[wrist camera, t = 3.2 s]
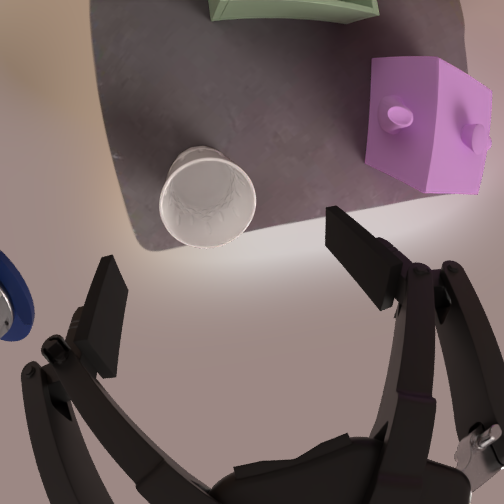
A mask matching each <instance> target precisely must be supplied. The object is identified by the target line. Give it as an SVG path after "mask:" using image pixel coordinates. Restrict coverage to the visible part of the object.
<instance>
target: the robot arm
mask: <svg viewBox="0 0 504 504" xmlns="http://www.w3.org/2000/svg"><path fill="white" fill-rule="evenodd" d="M325 233H326V235H325V246H326V247H327V248H328V249H329V250H330V252H331V253H332V254H333V255H334V256H335V257H336V258H337V259H338V261H339V262H340V263H341V264H342V265H343V267H344V268H345V269H346V270H347V271H348V272H349V274H350V275H351V276H352V277H353V278H354V280H355V281H356V282H357V283H358V284H359V286H360V287H361V288H362V289H363V290H364V292H365V293H366V294H367V295H368V297H369V298H370V299H371V300H372V301H373V303H374V304H375V305H376V306H377V308H378V309H379V310H380V311H382V310H385V309H387V308H389V307H392V305H393V301H394V298H395V299H396V300H397V301H398V302H399V303H398V306H397V310H396V313H395V316H394V318H396V322H395V330H394V337H393V344H392V350H391V356H390V361H389V367H388V372H387V377H386V382H385V386H384V391H383V396H382V399H381V403H380V407H379V411H378V415H377V419H376V422H375V424H374V426H373V429H372V431H371V433H370V436H369V438H368V437H349V435H348V433H346V434H343V435H341V436H338V437H336V438H334V439H331V440H328V441H325V442H323V443H320V444H319V445H318V446H316V447H314V448H312V449H311V450H309V451H308V452H306V453H304V454H303V455H301V456H299V457H298V458H296V459H291V460H276V461H275V460H273V461H259V462H255V463H250V464H246V465H241V466H236V467H233V468H234V472H233V473H231V474H229V475H227V476H225V477H224V478H222V479H221V480H220V481H218V482H217V483H216V484H215V485H214V486H213V487H212V489H211V488H209V487H208V486H207V485H205V484H204V483H202V482H201V481H199V480H198V479H196V478H195V477H194V476H192V475H191V474H189V473H188V472H187V471H186V470H185V469H183V468H182V467H181V466H180V465H179V464H177V463H176V462H175V461H174V460H173V459H171V458H170V457H169V456H168V455H167V454H166V453H165V452H164V451H163V450H161V449H160V448H159V447H158V446H157V445H156V444H155V443H154V442H153V441H152V440H151V439H150V438H149V437H148V436H147V435H146V434H145V433H144V432H143V431H142V430H141V429H140V428H139V427H138V426H137V425H136V424H135V423H134V422H133V421H132V420H131V419H130V418H129V417H128V415H126V414H125V412H124V411H123V410H122V409H121V408H120V407H119V405H118V404H117V403H116V402H115V401H114V400H113V398H112V397H111V396H110V395H109V394H108V392H107V391H106V390H105V389H104V388H103V386H102V385H101V384H100V383H99V381H98V380H97V379H96V375H97V372H98V373H99V375H100V376H101V377H102V378H103V379H104V378H113V377H116V374H117V364H118V355H119V347H120V339H121V332H122V325H123V319H124V312H125V307H126V301H127V296H128V289H127V286H126V284H125V282H124V280H123V278H122V275H121V273H120V271H119V269H118V266H117V264H116V262H115V259H114V257H113V255H109V256H105V257H102V258H101V260H100V263H99V265H98V268H97V270H96V273H95V276H94V278H93V281H92V284H91V286H90V289H89V292H88V295H87V298H86V301H85V304H84V306H82V307H78V309H77V310H76V311H75V313H74V314H73V317H72V320H71V324H70V326H69V330H68V333H67V336H66V339H65V340H64V339H63V337H61V336H60V335H53V336H51V337H49V338H48V339H47V340H46V341H45V342H44V343H43V345H42V348H41V352H42V355H43V356H44V357H45V358H46V359H47V361H48V362H49V364H47V365H45V366H43V367H41V366H40V365H39V364H38V363H37V362H35V361H32V362H30V363H28V364H27V365H26V366H25V367H24V368H23V370H22V373H21V382H22V392H23V400H24V407H25V413H26V419H27V425H28V429H29V435H30V440H31V444H32V448H33V452H34V455H35V459H36V463H37V466H38V470H39V473H40V476H41V479H42V482H43V485H44V488H45V490H46V493H47V496H48V498H49V501H50V504H114V503H113V501H112V499H111V498H110V496H109V494H108V492H107V490H106V488H105V486H104V484H103V482H102V480H101V478H100V476H99V474H98V472H97V470H96V468H95V465H94V463H93V461H92V459H91V457H90V454H89V452H88V449H87V447H86V444H85V442H84V439H83V437H82V434H81V431H80V428H79V426H78V423H77V420H76V417H75V414H74V411H73V408H72V404H71V401H70V400H72V402H73V404H74V405H75V407H76V408H77V410H78V411H79V413H80V414H81V416H82V418H83V419H84V420H85V422H86V423H87V425H88V426H89V427H90V429H91V430H92V432H93V433H94V434H95V436H96V437H97V439H98V440H99V441H100V443H101V444H102V445H103V446H104V448H105V449H106V450H107V451H108V453H109V454H110V455H111V456H112V458H113V459H114V460H115V461H116V462H117V463H118V464H119V466H120V467H121V468H122V469H123V470H124V471H125V472H126V474H127V475H128V476H129V477H130V478H131V479H132V480H133V481H134V482H135V484H136V489H137V491H138V492H139V493H140V494H141V495H142V496H143V497H144V498H145V499H146V500H147V501H148V502H149V503H150V504H471V493H472V492H474V491H475V490H476V489H478V488H479V487H480V486H481V485H483V484H484V483H485V482H486V481H488V480H489V479H490V478H491V477H493V476H494V475H495V474H496V473H497V472H498V471H500V470H501V469H502V468H504V361H503V358H502V355H501V352H500V349H499V346H498V344H497V341H496V338H495V336H494V333H493V331H492V328H491V326H490V323H489V321H488V319H487V316H486V314H485V311H484V309H483V307H482V305H481V303H480V301H479V298H478V296H477V294H476V292H475V290H474V288H473V286H472V284H471V282H470V280H469V278H468V277H467V275H466V273H465V271H464V269H463V268H462V266H461V265H460V264H458V263H457V262H454V261H445V262H443V264H442V268H441V269H437V270H431V269H430V268H429V267H428V266H427V265H425V264H422V263H412V262H411V261H410V260H409V259H408V258H407V257H406V256H405V255H403V254H402V253H401V252H400V251H398V249H397V248H395V247H393V245H392V244H391V243H390V242H388V241H387V240H385V239H383V238H380V237H378V238H375V237H374V236H373V235H372V234H370V233H369V232H368V231H367V230H366V229H365V228H363V227H362V226H361V225H360V224H359V223H358V222H356V221H355V220H354V219H353V218H351V217H350V216H349V215H348V214H347V213H345V212H344V211H343V210H342V209H340V208H339V207H338V206H331V207H326V232H325ZM14 318H15V310H14V305H13V302H12V299H11V297H10V295H9V293H8V291H7V290H6V288H5V286H4V285H3V284H2V282H1V281H0V338H1V337H2V336H3V335H4V334H5V333H7V332H8V330H9V329H10V327H11V325H12V323H13V321H14ZM435 326H436V329H437V333H438V337H439V340H440V344H441V348H442V352H443V356H444V361H445V365H446V370H447V375H448V380H449V386H450V391H451V397H452V404H453V411H454V419H455V425H456V431H457V435H458V439H459V442H460V443H459V445H458V447H457V451H456V453H455V455H454V459H455V461H456V462H457V467H456V468H454V467H450V466H447V465H444V464H441V463H438V462H435V461H432V460H429V459H427V457H428V453H429V449H430V443H431V438H432V432H433V427H434V420H435V413H436V399H435V398H433V397H432V388H433V387H432V386H433V376H434V360H435Z"/></svg>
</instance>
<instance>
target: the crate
mask: <svg viewBox="0 0 504 504" xmlns="http://www.w3.org/2000/svg"><path fill="white" fill-rule="evenodd" d="M208 3H209V11H210V18H211V21H219V20H230V19H247V18H289V19H306V20H318V21H327V22H335V23H342V24H349V23H352V22H356V21H359V20H363V19H366V18H370V17H374V16H378V15H379V9H378V4H377V0H208Z"/></svg>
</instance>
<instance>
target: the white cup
mask: <svg viewBox="0 0 504 504" xmlns="http://www.w3.org/2000/svg"><path fill="white" fill-rule="evenodd" d="M255 207H256V194H255V190H254V186H253V184H252V182H251V180H250V178H249V177H248V175H247V174H246V173H245V172H244V171H243V170H242V169H241V168H240V167H239V166H237V165H236V164H235V163H234V162H233V161H232V160H230V159H229V158H228V157H227V156H225V155H224V154H222V153H221V152H219V151H218V150H216V149H213V148H210V147H207V146H197V147H190V148H189V149H187V150H185V151H184V152H182V153H181V154H179V155H178V157H177V158H176V160H175V161H174V163H173V164H172V166H171V168H170V170H169V172H168V174H167V177H166V180H165V183H164V186H163V189H162V192H161V195H160V201H159V210H160V215H161V219H162V221H163V224H164V226H165V227H166V229H167V230H168V232H169V233H170V234H171V235H172V236H173V237H174V238H176V239H177V240H178V241H180V242H182V243H183V244H186V245H188V246H191V247H196V248H215V247H219V246H222V245H225V244H227V243H229V242H231V241H233V240H234V239H236V238H237V237H238V236H240V235H241V234H242V233H243V232H244V231H245V229H246V228H247V227H248V225H249V224H250V222H251V220H252V218H253V215H254V212H255Z"/></svg>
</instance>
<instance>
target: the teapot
mask: <svg viewBox="0 0 504 504" xmlns="http://www.w3.org/2000/svg"><path fill="white" fill-rule="evenodd" d="M491 109H492V91H491V90H490V89H489V88H487V87H486V86H484V85H483V84H482V83H480V82H479V81H477V80H476V79H474V78H473V77H471V76H469V75H468V74H466V73H465V72H463V71H461V70H460V69H458V68H456V67H455V66H453V65H451V64H449V63H448V62H446V61H444V60H442V59H440V58H438V57H434V56H398V57H378V58H372V61H371V94H370V111H369V125H368V136H367V147H366V156H365V164H367V165H369V166H371V167H373V168H375V169H378V170H380V171H382V172H384V173H386V174H388V175H390V176H392V177H394V178H396V179H398V180H400V181H402V182H404V183H405V184H407V185H409V186H411V187H413V188H415V189H417V190H418V191H420V192H422V193H448V194H474V195H478V192H479V188H480V184H481V180H482V175H483V170H484V165H485V160H486V154H487V150H489V149H490V148H491V145H492V141H491V138H490V137H489V132H490V122H491Z"/></svg>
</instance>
